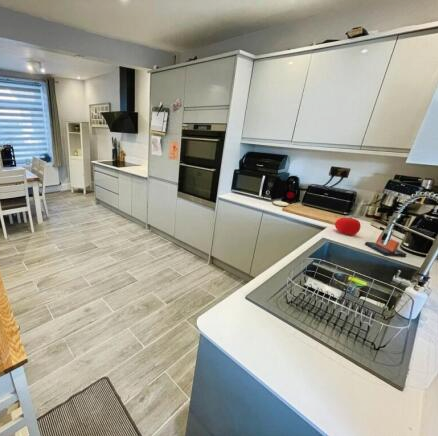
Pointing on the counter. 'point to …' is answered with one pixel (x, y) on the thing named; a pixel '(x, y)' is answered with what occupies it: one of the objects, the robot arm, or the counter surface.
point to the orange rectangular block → (389, 244)
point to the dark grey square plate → (385, 250)
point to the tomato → (348, 225)
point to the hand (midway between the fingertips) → (402, 229)
